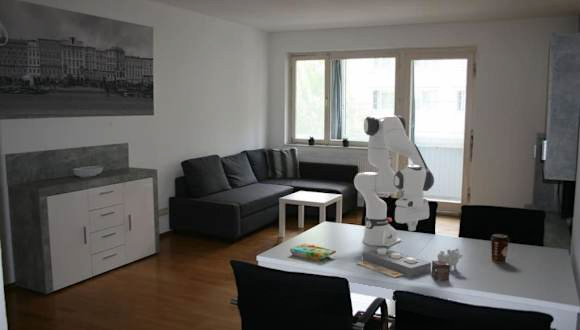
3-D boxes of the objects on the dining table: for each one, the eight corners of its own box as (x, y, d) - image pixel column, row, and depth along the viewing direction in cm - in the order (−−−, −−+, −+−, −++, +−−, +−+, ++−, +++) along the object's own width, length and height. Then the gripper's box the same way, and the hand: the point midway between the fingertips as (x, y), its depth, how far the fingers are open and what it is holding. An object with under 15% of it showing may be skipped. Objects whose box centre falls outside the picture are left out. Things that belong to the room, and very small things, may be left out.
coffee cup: (507, 259, 255) (509, 234, 253) (508, 264, 247) (510, 238, 246) (488, 258, 258) (490, 232, 256) (489, 262, 250) (491, 236, 248)
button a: (381, 253, 254) (381, 247, 254) (388, 256, 250) (388, 250, 250) (375, 255, 251) (375, 249, 251) (381, 257, 248) (382, 251, 247)
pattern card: (365, 261, 249) (365, 260, 249) (403, 275, 230) (404, 273, 230) (356, 264, 245) (356, 262, 245) (394, 278, 226) (395, 276, 226)
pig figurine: (456, 273, 233) (457, 251, 232) (435, 266, 244) (436, 244, 242) (464, 272, 236) (465, 249, 234) (443, 264, 246) (444, 242, 245)
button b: (395, 258, 247) (395, 252, 246) (402, 260, 243) (402, 254, 243) (389, 259, 244) (389, 253, 244) (396, 262, 241) (396, 256, 240)
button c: (410, 263, 240) (410, 256, 239) (417, 265, 236) (417, 259, 236) (403, 264, 237) (404, 258, 237) (411, 267, 234) (411, 260, 233)
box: (431, 276, 229) (431, 260, 228) (444, 276, 230) (444, 260, 229) (436, 281, 223) (436, 264, 222) (449, 280, 224) (450, 264, 223)
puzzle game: (303, 242, 267) (336, 248, 255) (303, 250, 268) (335, 258, 256) (289, 246, 258) (323, 254, 246) (289, 256, 258) (322, 263, 246)
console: (382, 255, 260) (382, 247, 260) (430, 270, 236) (431, 262, 236) (362, 260, 252) (362, 252, 251) (410, 276, 228) (411, 268, 228)
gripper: (422, 197, 242) (421, 225, 243) (393, 201, 230) (391, 231, 231) (433, 199, 237) (432, 228, 238) (403, 204, 225) (402, 234, 226)
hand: (412, 230), depth 235 cm, fingers closed
